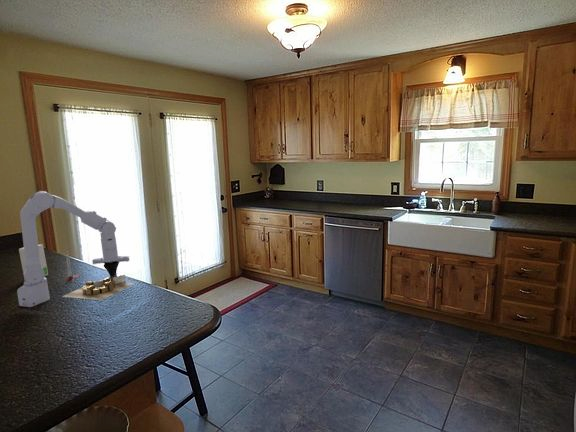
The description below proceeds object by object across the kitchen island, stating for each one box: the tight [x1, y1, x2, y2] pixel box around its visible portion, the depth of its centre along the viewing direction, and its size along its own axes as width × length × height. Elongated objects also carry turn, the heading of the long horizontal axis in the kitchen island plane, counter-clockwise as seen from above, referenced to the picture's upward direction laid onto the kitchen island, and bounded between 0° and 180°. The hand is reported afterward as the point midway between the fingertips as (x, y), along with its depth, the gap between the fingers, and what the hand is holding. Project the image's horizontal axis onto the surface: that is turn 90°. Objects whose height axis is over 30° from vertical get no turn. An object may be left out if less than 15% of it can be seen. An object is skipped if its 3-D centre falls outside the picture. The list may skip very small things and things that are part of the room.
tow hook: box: [65, 253, 79, 282], centre depth 166 cm, size 8×13×9 cm
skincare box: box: [18, 244, 49, 281], centre depth 170 cm, size 8×7×16 cm
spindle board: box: [62, 279, 135, 301], centre depth 148 cm, size 18×20×5 cm
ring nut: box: [81, 272, 127, 295], centre depth 150 cm, size 12×16×4 cm
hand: (113, 278), depth 156 cm, fingers closed
